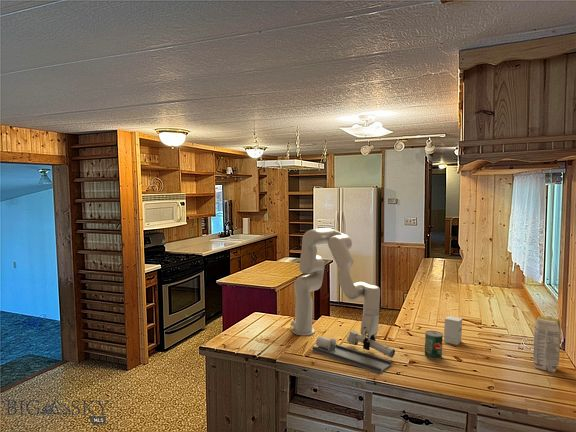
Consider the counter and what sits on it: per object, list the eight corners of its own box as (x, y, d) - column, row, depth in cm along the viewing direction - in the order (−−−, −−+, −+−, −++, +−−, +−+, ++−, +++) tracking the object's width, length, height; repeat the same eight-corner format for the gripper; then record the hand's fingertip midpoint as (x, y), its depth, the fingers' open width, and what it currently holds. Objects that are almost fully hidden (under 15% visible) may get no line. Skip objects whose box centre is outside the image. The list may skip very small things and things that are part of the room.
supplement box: (458, 345, 200) (459, 321, 199) (443, 342, 205) (444, 318, 204) (461, 341, 206) (462, 318, 205) (447, 338, 210) (448, 315, 210)
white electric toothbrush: (391, 351, 177) (346, 328, 194) (388, 364, 178) (344, 341, 195) (396, 347, 181) (352, 326, 198) (393, 360, 182) (350, 338, 199)
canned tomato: (440, 360, 181) (441, 337, 180) (423, 356, 184) (424, 334, 184) (443, 354, 188) (443, 332, 187) (426, 351, 191) (426, 329, 191)
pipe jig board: (312, 351, 189) (312, 337, 188) (325, 345, 197) (325, 332, 197) (380, 374, 165) (380, 358, 165) (391, 365, 174) (391, 351, 173)
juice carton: (559, 368, 174) (562, 316, 173) (556, 374, 168) (559, 320, 167) (535, 362, 180) (537, 311, 179) (531, 367, 175) (534, 315, 173)
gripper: (372, 305, 196) (370, 340, 197) (355, 313, 183) (353, 350, 184) (386, 309, 191) (384, 345, 192) (369, 316, 178) (367, 355, 179)
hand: (369, 347), depth 188 cm, fingers closed on white electric toothbrush, 5 cm apart
